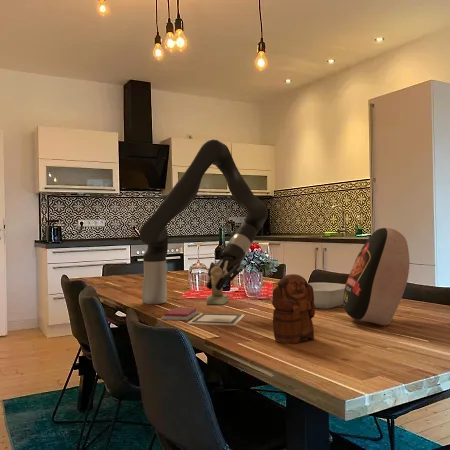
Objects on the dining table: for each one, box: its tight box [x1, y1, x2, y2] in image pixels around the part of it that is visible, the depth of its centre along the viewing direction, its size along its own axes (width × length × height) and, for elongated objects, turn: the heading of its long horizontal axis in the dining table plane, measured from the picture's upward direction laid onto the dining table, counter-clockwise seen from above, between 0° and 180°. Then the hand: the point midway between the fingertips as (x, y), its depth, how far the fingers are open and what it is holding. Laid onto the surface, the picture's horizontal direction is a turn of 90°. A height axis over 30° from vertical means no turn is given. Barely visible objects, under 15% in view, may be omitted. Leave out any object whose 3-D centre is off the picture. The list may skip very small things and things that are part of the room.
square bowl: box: [307, 282, 346, 310], centre depth 179 cm, size 20×20×8 cm
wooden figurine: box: [271, 273, 316, 345], centre depth 126 cm, size 12×6×18 cm, turn 120°
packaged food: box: [342, 227, 410, 326], centre depth 147 cm, size 22×20×30 cm
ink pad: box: [161, 307, 199, 321], centre depth 161 cm, size 9×12×2 cm
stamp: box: [205, 266, 230, 307], centre depth 155 cm, size 6×6×13 cm
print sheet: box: [186, 312, 246, 327], centre depth 155 cm, size 16×16×1 cm
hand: (212, 288), depth 153 cm, fingers closed on stamp, 3 cm apart
